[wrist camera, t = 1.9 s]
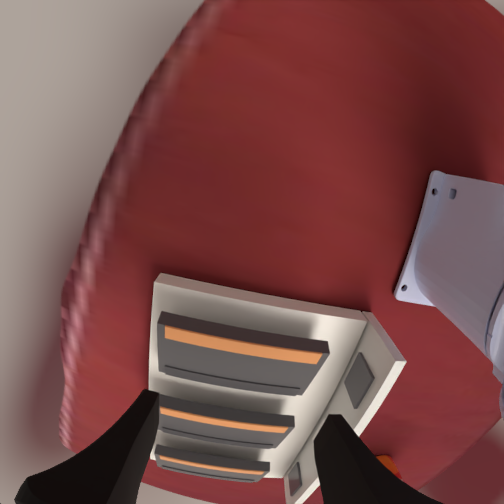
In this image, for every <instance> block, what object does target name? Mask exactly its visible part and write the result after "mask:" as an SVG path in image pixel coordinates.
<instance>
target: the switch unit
mask: <svg viewBox="0 0 504 504" xmlns="http://www.w3.org/2000/svg"><path fill="white" fill-rule="evenodd" d="M161 311H164V312H169V313H173V314H177V315H182V316H186V317H191V318H196V319H200V320H205V321H210V322H215V323H220V324H225V325H230V326H235V327H241V328H246V329H252V330H257V331H263V332H269V333H275V334H282V335H288V336H295V337H301V338H309V339H316V340H323V341H328V345H329V350H330V355H329V356H328V358H327V359H326V361H325V362H324V364H323V365H322V367H321V368H320V370H319V371H318V373H317V374H316V376H315V377H314V379H313V380H312V382H311V383H310V385H309V386H308V388H307V389H306V391H305V392H304V393H303V395H296V396H288V395H278V394H270V393H262V392H254V391H247V390H241V389H234V388H228V387H223V386H217V385H212V384H206V383H201V382H196V381H192V380H187V379H182V378H178V377H174V376H169V375H165V373H163V372H159V370H158V347H157V322H158V319H159V316H160V314H161ZM405 363H406V360H405V359H404V357H403V356H402V354H401V353H400V351H399V350H398V348H397V347H396V346H395V344H394V343H393V341H392V340H391V338H390V337H389V336H388V334H387V333H386V331H385V330H384V328H383V327H382V326H381V324H380V323H379V322H378V320H377V319H376V317H375V316H374V315H373V313H372V312H365V311H363V312H361V311H359V310H353V309H346V308H340V307H334V306H328V305H322V304H316V303H310V302H305V301H299V300H293V299H288V298H282V297H277V296H272V295H266V294H261V293H256V292H251V291H245V290H240V289H235V288H230V287H225V286H220V285H216V284H211V283H206V282H201V281H197V280H192V279H187V278H183V277H178V276H173V275H169V274H164V273H160V274H159V276H158V277H157V278H156V280H155V281H154V289H153V301H152V314H151V331H150V353H149V390H151V391H155V392H159V394H162V395H166V396H171V397H175V398H179V399H184V400H189V401H193V402H198V403H203V404H209V405H214V406H220V407H226V408H232V409H239V410H246V411H254V412H262V413H271V414H281V415H293V416H294V417H295V428H294V429H293V430H292V431H291V432H290V433H289V434H288V436H287V437H286V438H285V439H284V440H283V441H282V442H281V443H280V444H279V445H278V446H277V448H271V449H261V448H251V447H242V446H234V445H227V444H220V443H214V442H208V441H202V440H197V439H191V438H187V437H182V436H177V435H173V434H168V433H164V432H163V431H161V430H157V434H156V439H155V443H154V445H153V448H152V451H151V454H150V457H151V459H153V460H156V459H155V455H154V452H155V448H156V444H159V445H163V446H167V447H171V448H176V449H180V450H185V451H190V452H195V453H201V454H207V455H213V456H219V457H226V458H234V459H243V460H253V461H265V462H270V472H269V473H267V474H266V475H265V476H264V477H269V478H282V477H283V476H284V486H285V496H286V504H302V503H303V502H304V501H305V500H306V499H307V498H308V497H309V496H310V495H311V494H312V493H313V492H314V491H315V489H316V488H317V487H318V486H319V485H320V482H319V478H318V473H317V468H316V464H315V457H314V443H313V440H314V439H315V437H316V435H317V434H318V432H319V430H320V429H321V427H322V425H323V423H324V422H325V420H326V418H327V416H328V415H329V414H341V415H342V416H343V417H344V418H345V420H346V421H347V422H348V424H349V425H350V426H351V428H352V429H353V430H354V431H355V433H356V434H357V435H358V437H359V436H360V434H361V433H362V432H363V430H364V429H365V427H366V426H367V425H368V423H369V422H370V420H371V419H372V417H373V416H374V414H375V413H376V411H377V410H378V408H379V407H380V405H381V404H382V402H383V401H384V399H385V397H386V396H387V394H388V393H389V391H390V389H391V388H392V386H393V384H394V383H395V381H396V379H397V378H398V376H399V374H400V372H401V371H402V369H403V367H404V365H405Z"/></svg>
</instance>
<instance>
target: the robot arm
mask: <svg viewBox="0 0 504 504" xmlns="http://www.w3.org/2000/svg"><path fill="white" fill-rule="evenodd" d="M433 189H434V190H435V192H434V194H433V195H432V190H433ZM403 285H405V287H404V288H403V289H401V287H402V286H403ZM394 296H395V298H396V299H397V300H400V301H406V302H411V303H417V304H423V305H429V306H435V307H436V308H438V309H439V310H440V311H441V312H442V313H443V314H444V315H445V316H446V317H447V318H448V319H449V320H450V321H451V322H452V323H453V324H454V325H456V326H457V327H458V328H459V329H460V330H461V331H462V332H463V333H464V334H465V335H466V336H467V337H468V338H469V339H470V340H471V341H472V342H473V343H474V344H475V345H476V346H477V347H478V348H479V349H480V350H481V351H482V352H483V353H484V354H485V355H486V357H487V358H488V359H490V360H491V362H492V363H493V374H494V375H495V376H496V378H497V379H498V380H499V381H500V382H501V383H502V384H503V385H502V387H501V391H500V398H499V405H500V411H501V415H502V417H503V419H504V185H501V184H497V183H492V182H488V181H482V180H477V179H472V178H466V177H461V176H455V175H449V174H445V173H443V172H440V171H436V170H434V171H432V172H431V174H430V178H429V182H428V186H427V190H426V194H425V198H424V202H423V206H422V209H421V213H420V217H419V220H418V223H417V227H416V230H415V233H414V237H413V240H412V243H411V246H410V249H409V252H408V255H407V258H406V261H405V264H404V267H403V270H402V272H401V275H400V278H399V280H398V283H397V286H396V288H395V291H394ZM158 425H159V392H155V391H151V390H147V389H144V390H143V391H142V392H141V394H140V395H139V396H138V398H137V399H136V400H135V401H134V403H133V404H132V405H131V406H130V408H129V409H128V410H127V411H126V412H125V413H124V414H123V415H122V416H121V417H120V419H119V420H118V421H117V422H116V423H115V424H114V425H113V426H112V427H111V428H109V429H108V430H107V431H106V432H105V433H104V434H103V435H102V436H101V437H100V438H98V439H97V440H96V441H95V442H93V443H92V444H91V445H89V446H88V447H87V448H85V449H84V450H82V451H81V452H79V453H78V454H76V455H75V456H73V457H71V458H70V459H68V460H66V461H64V462H63V463H60V464H58V465H56V466H54V467H52V468H50V469H48V470H46V471H43V472H41V473H38V474H35V475H32V476H29V477H27V478H26V480H25V481H24V483H23V484H22V485H21V487H20V489H19V491H18V493H17V495H16V497H15V499H14V500H15V503H16V504H136V499H137V495H138V490H139V486H140V483H141V479H142V477H143V474H144V471H145V468H146V465H147V462H148V460H149V457H150V454H151V451H152V448H153V445H154V443H155V439H156V434H157V430H158ZM313 443H314V457H315V464H316V468H317V473H318V478H319V482H320V487H321V491H322V496H323V501H324V504H443V503H441V502H438V501H436V500H434V499H431V498H429V497H427V496H426V495H424V494H422V493H420V492H418V491H417V490H415V489H413V488H412V487H410V486H409V485H407V484H406V483H405V482H403V481H402V480H401V479H399V478H398V477H397V476H396V475H394V474H393V473H392V472H391V471H390V470H389V469H387V468H386V467H385V466H384V465H383V464H382V463H381V462H380V461H379V460H378V459H377V458H376V457H375V456H374V454H373V453H372V452H371V451H370V450H369V449H368V448H367V446H366V445H365V444H364V443H363V442H362V440H361V439H360V438H359V437H358V435H357V434H356V433H355V431H354V430H353V429H352V428H351V426H350V425H349V424H348V422H347V421H346V420H345V418H344V417H343V416H342V415H341V414H329V415H328V416H327V418H326V420H325V422H324V423H323V425H322V427H321V429H320V430H319V432H318V434H317V435H316V437H315V439H314V440H313ZM0 504H1V503H0Z"/></svg>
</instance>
